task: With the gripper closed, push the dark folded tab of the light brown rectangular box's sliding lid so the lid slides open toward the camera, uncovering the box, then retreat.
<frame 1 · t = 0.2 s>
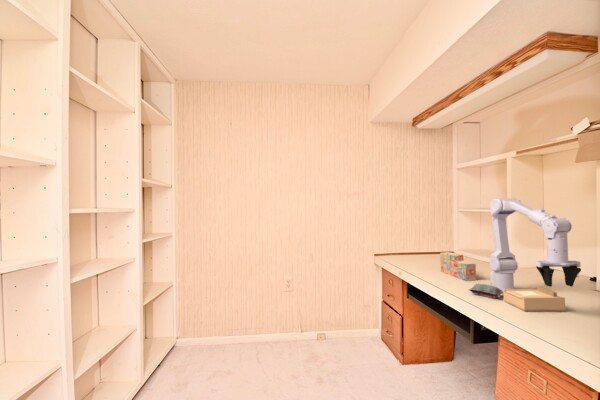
hand: (558, 285, 100), 10 cm above the table, tool pointing down, fingers open, 7 cm apart
packaged food: (486, 296, 121), on the table
lid: (532, 292, 107), point 6 cm above the table, slide at 0.0 cm
light brown rectangular box: (532, 306, 107), on the table
stack of blocks: (457, 276, 155), on the table
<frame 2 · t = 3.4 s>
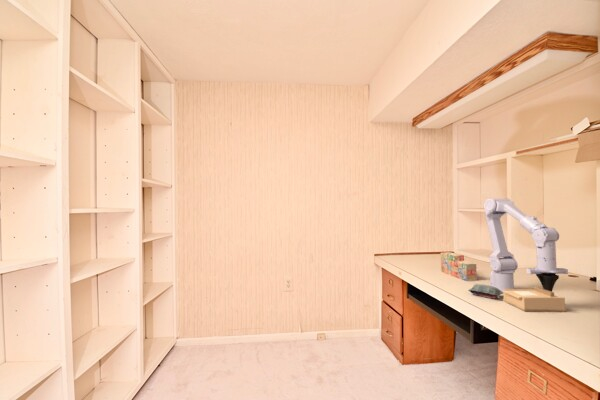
hand: (547, 291, 106), 6 cm above the table, tool pointing down, fingers closed
packaged food: (486, 296, 120), on the table
lid: (529, 292, 107), point 6 cm above the table, slide at 1.0 cm, touching gripper
everything else where it was.
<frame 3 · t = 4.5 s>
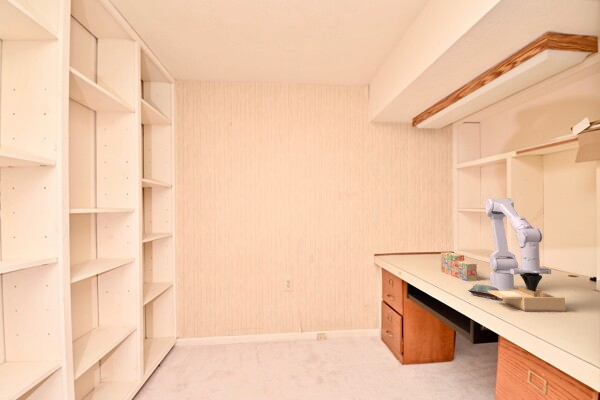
hand: (531, 292, 107), 6 cm above the table, tool pointing down, fingers closed
lid: (513, 292, 107), point 6 cm above the table, slide at 7.4 cm, touching gripper
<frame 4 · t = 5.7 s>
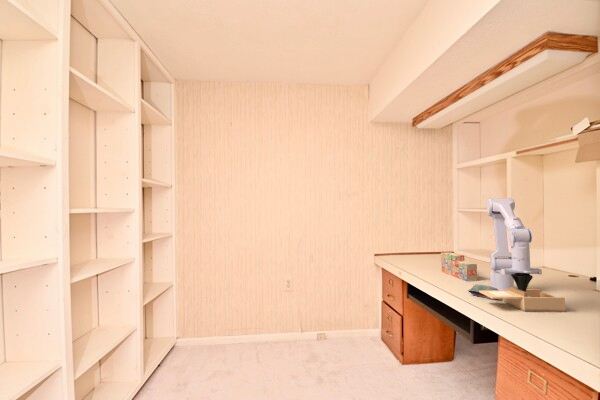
hand: (522, 292, 107), 6 cm above the table, tool pointing down, fingers closed
lid: (504, 292, 107), point 6 cm above the table, slide at 11.0 cm, touching gripper
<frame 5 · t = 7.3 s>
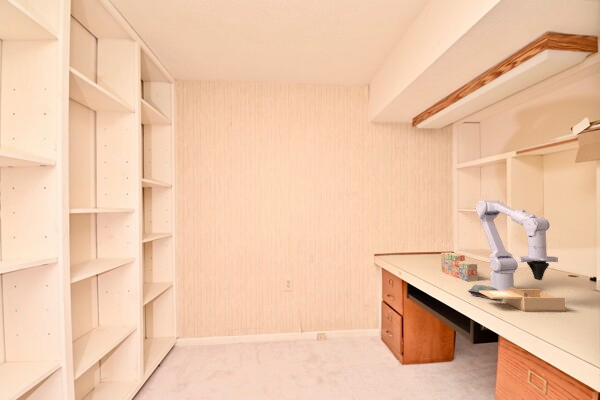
hand: (538, 279, 110), 10 cm above the table, tool pointing down, fingers closed
lid: (504, 292, 107), point 6 cm above the table, slide at 11.0 cm
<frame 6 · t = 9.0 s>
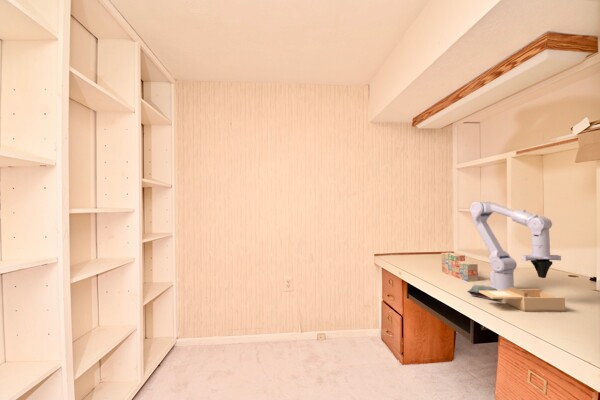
hand: (542, 277, 112), 10 cm above the table, tool pointing down, fingers closed
at the end: lid slide at 11.0 cm; lid touching nothing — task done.
